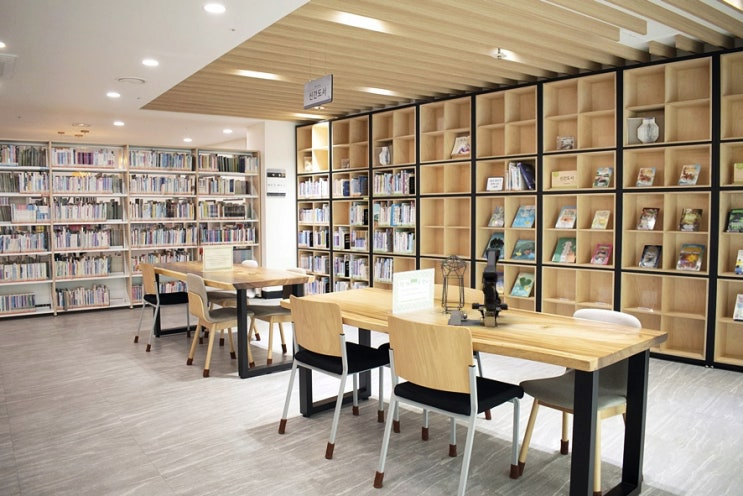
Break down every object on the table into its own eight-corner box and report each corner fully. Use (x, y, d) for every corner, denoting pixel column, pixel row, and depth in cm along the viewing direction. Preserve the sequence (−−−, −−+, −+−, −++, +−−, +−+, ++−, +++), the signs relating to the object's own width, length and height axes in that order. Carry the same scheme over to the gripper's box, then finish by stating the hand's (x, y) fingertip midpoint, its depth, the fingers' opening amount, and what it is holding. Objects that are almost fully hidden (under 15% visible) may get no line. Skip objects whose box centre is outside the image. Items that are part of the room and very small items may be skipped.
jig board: (448, 320, 324) (448, 318, 324) (496, 322, 320) (496, 320, 320) (447, 327, 307) (447, 325, 307) (497, 328, 302) (497, 327, 302)
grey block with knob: (451, 319, 323) (451, 310, 323) (467, 319, 322) (467, 310, 321) (450, 325, 307) (450, 315, 307) (466, 325, 306) (467, 316, 306)
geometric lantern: (466, 310, 356) (467, 253, 352) (465, 315, 340) (466, 256, 337) (440, 309, 358) (441, 252, 355) (438, 314, 343) (439, 255, 340)
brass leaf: (479, 320, 321) (479, 311, 320) (493, 320, 319) (493, 311, 319) (479, 326, 305) (479, 316, 304) (494, 326, 303) (494, 317, 303)
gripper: (471, 295, 304) (471, 324, 305) (508, 296, 301) (508, 326, 302) (472, 292, 315) (471, 320, 316) (507, 292, 312) (507, 321, 313)
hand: (489, 322), depth 312 cm, fingers closed on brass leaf, 5 cm apart
